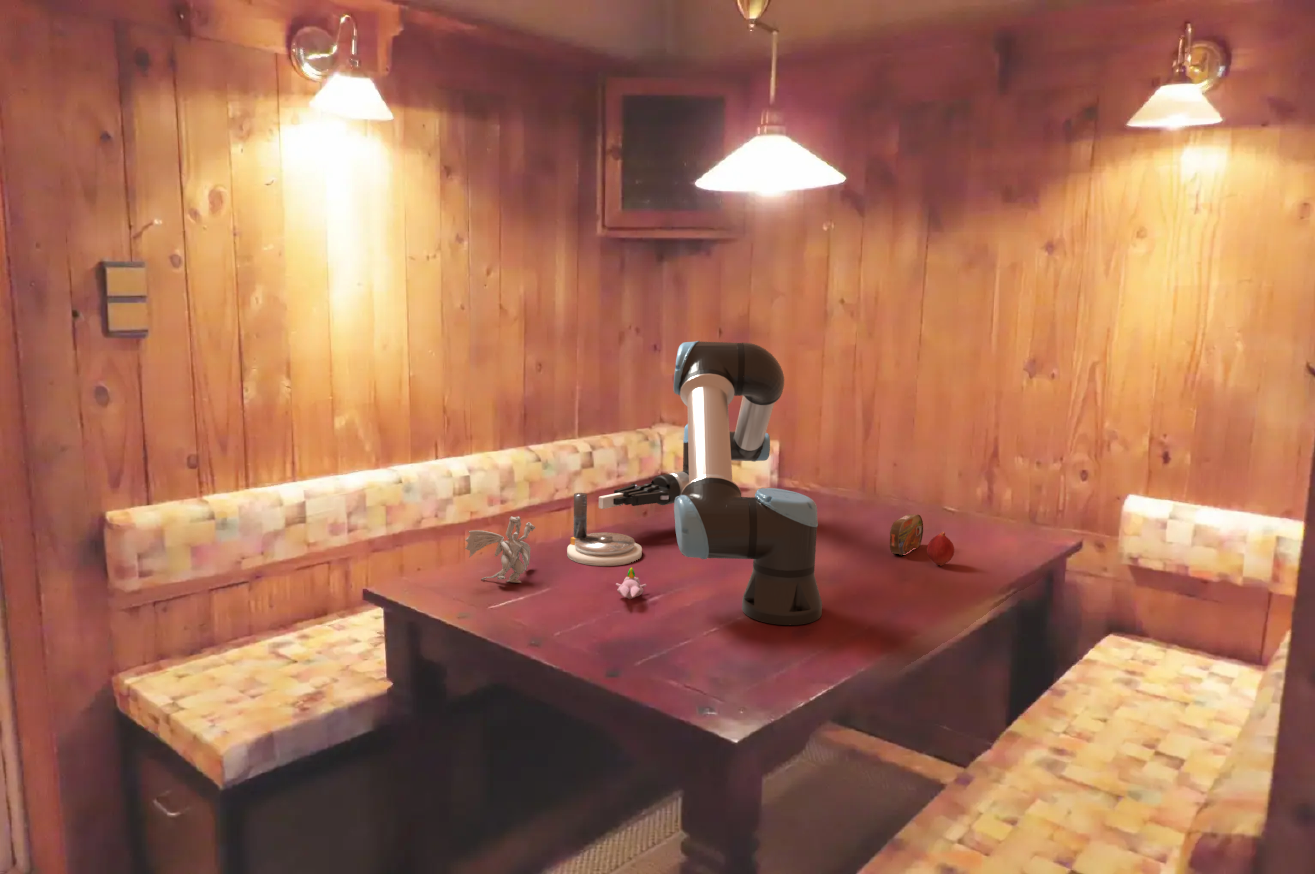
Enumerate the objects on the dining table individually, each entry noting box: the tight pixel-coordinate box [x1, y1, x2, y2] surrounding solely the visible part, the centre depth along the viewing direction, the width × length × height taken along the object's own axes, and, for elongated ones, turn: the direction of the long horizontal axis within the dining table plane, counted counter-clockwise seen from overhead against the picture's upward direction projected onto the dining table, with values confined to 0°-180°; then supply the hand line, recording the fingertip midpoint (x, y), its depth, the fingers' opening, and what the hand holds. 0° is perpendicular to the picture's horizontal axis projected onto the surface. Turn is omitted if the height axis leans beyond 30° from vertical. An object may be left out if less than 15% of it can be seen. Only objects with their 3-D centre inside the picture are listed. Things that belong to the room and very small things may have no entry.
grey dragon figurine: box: [464, 515, 536, 584], centre depth 190 cm, size 10×18×14 cm, turn 136°
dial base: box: [566, 535, 643, 567], centre depth 209 cm, size 17×17×3 cm
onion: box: [926, 531, 955, 566], centre depth 205 cm, size 6×6×8 cm
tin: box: [889, 513, 924, 556], centre depth 216 cm, size 15×3×8 cm, turn 143°
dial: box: [573, 492, 636, 556], centre depth 208 cm, size 14×14×12 cm
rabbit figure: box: [615, 567, 648, 600], centre depth 181 cm, size 6×6×15 cm
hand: (600, 502), depth 214 cm, fingers closed
